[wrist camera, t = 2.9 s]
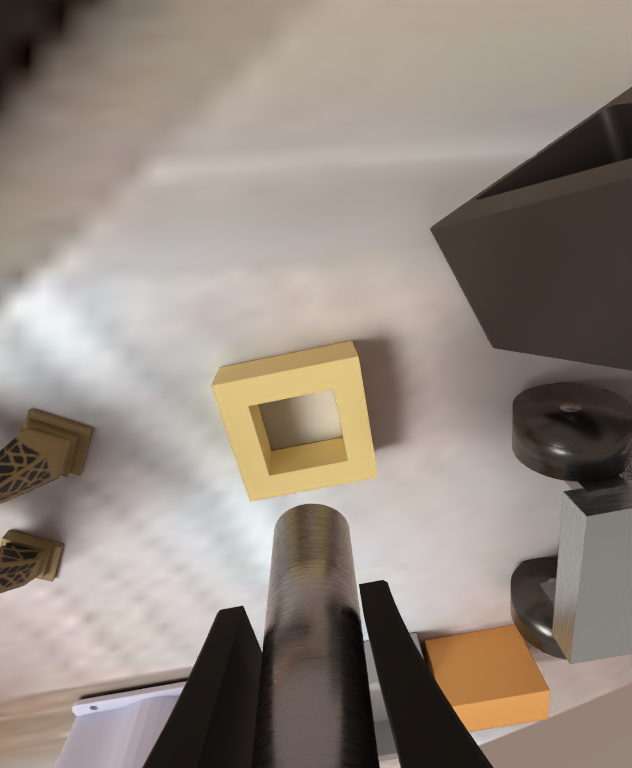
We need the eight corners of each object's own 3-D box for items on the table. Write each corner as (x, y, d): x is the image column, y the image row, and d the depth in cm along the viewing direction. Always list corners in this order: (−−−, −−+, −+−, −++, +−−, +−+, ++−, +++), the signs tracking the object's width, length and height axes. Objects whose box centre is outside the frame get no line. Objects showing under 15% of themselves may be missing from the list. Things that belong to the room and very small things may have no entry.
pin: (274, 574, 13) (236, 1025, 6) (249, 502, 12) (164, 972, 5) (368, 560, 13) (443, 1008, 6) (354, 485, 12) (428, 948, 5)
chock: (427, 665, 28) (447, 735, 24) (424, 638, 26) (444, 708, 23) (513, 650, 27) (547, 719, 24) (514, 622, 26) (549, 690, 23)
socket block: (254, 474, 20) (250, 501, 18) (219, 367, 18) (211, 385, 16) (370, 452, 20) (378, 477, 18) (351, 340, 18) (358, 356, 16)
